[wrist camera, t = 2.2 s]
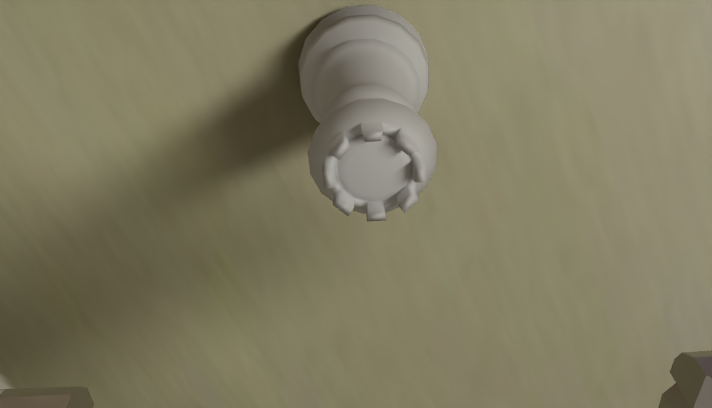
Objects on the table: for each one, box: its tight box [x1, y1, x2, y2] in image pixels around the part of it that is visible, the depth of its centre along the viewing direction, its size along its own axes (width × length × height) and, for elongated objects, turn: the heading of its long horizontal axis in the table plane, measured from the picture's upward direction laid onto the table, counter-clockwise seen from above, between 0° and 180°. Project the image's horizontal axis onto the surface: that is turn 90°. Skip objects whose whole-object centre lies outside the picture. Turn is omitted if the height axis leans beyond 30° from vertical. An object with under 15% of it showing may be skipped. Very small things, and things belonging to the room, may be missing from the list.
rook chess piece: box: [298, 5, 436, 221], centre depth 18 cm, size 4×4×8 cm
